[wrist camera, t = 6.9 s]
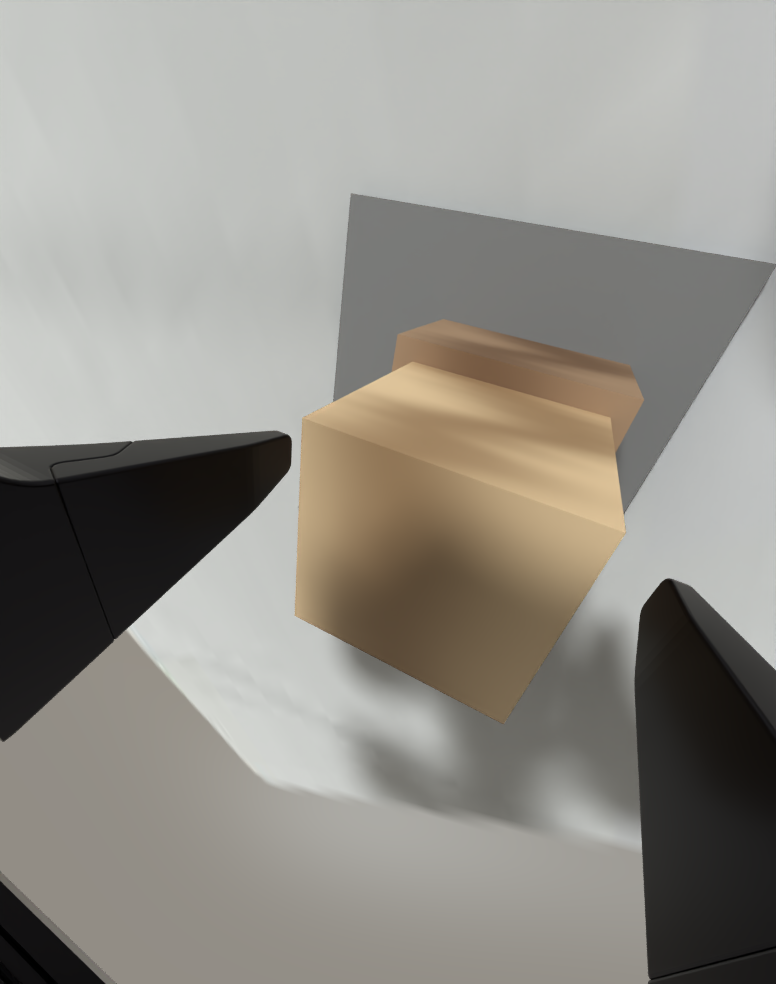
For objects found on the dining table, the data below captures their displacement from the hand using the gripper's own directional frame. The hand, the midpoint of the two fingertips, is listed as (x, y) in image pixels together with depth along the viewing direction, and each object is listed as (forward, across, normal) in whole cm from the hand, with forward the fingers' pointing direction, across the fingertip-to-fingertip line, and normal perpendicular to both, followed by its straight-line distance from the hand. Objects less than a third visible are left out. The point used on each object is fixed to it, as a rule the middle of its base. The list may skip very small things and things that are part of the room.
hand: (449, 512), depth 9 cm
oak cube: (+2, 0, 0) cm, 2 cm away
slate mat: (+7, +1, -1) cm, 7 cm away
